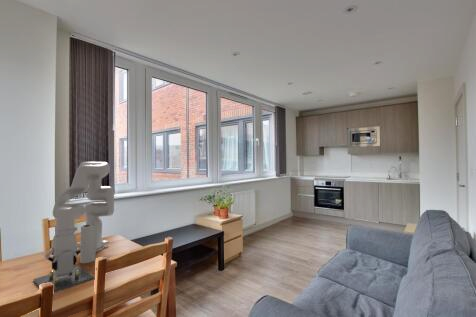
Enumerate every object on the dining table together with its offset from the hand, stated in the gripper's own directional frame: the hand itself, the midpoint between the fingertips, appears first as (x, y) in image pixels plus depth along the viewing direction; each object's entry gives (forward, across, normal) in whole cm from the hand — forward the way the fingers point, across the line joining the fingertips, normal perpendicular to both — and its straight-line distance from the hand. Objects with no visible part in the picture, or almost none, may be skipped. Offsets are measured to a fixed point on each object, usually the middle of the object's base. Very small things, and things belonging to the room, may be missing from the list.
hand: (64, 266), depth 125 cm
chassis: (+7, 0, 0) cm, 7 cm away
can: (+3, 0, 0) cm, 3 cm away
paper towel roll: (+7, -16, -15) cm, 23 cm away
